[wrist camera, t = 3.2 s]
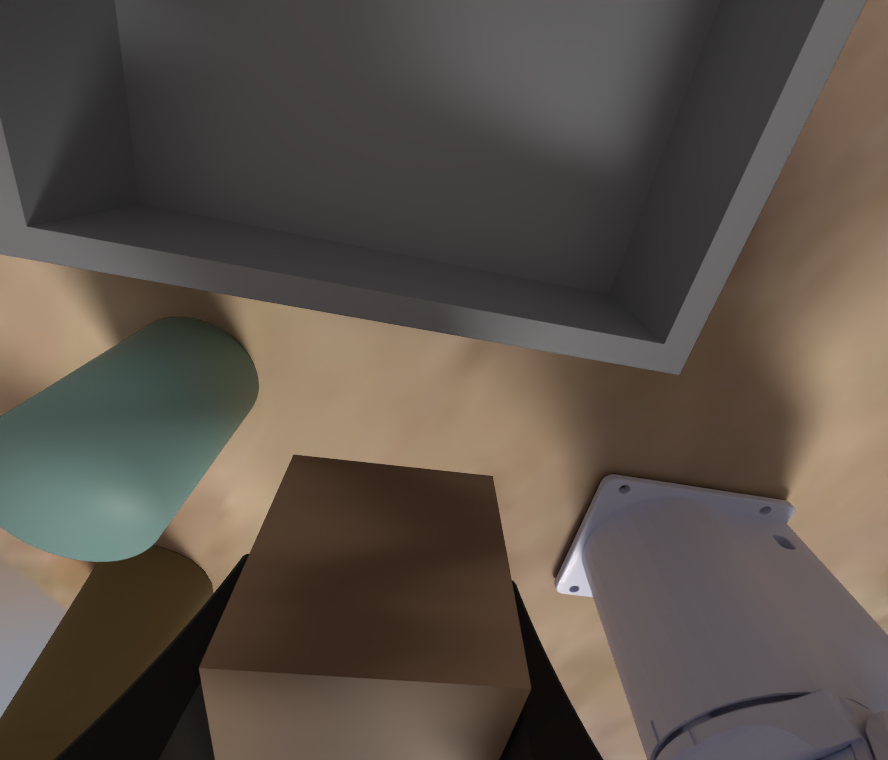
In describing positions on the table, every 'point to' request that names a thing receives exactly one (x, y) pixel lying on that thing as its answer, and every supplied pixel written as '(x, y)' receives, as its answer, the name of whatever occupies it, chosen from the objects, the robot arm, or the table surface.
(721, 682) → the robot arm
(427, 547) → the walnut cube
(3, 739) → the cork
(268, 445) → the table surface
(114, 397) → the teal cylinder
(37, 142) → the tote
